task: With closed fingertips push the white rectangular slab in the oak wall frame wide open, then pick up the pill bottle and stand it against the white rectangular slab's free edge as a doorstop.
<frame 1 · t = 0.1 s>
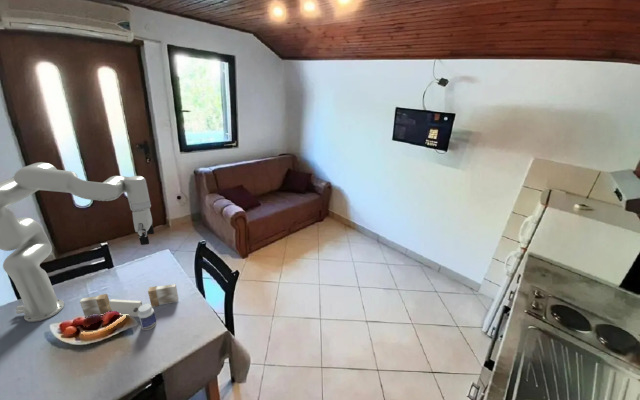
hand: (147, 238, 121), 31 cm above the table, fingers open, 9 cm apart
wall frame: (133, 307, 122), on the table
white rectangular slab: (126, 309, 116), point 4 cm above the table, hinge at 20.0°
pill bottle: (149, 325, 114), on the table
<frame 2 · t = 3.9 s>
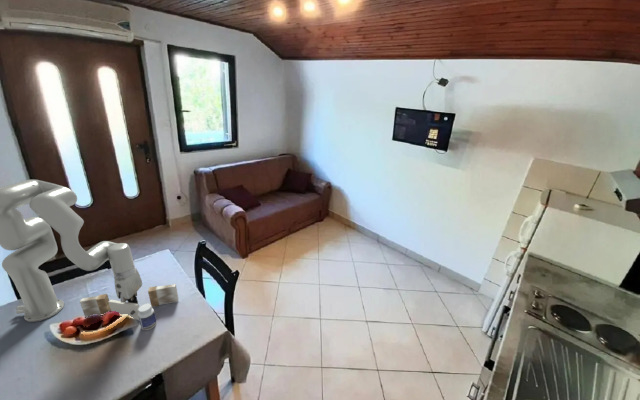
hand: (133, 304, 119), 4 cm above the table, fingers closed
white rectangular slab: (124, 310, 115), point 4 cm above the table, hinge at 27.1°, touching gripper
everything else where it was.
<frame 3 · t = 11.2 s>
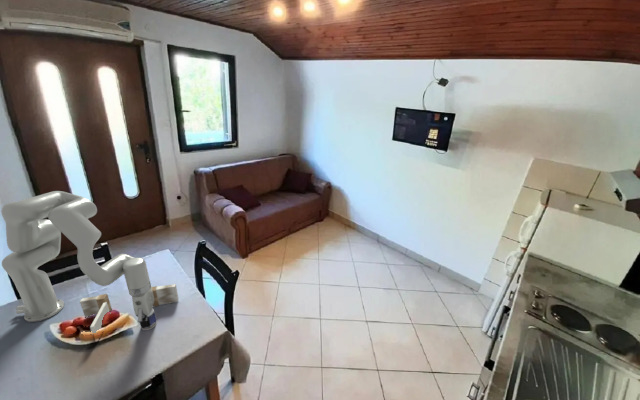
hand: (148, 320, 113), 3 cm above the table, fingers closed on pill bottle, 5 cm apart
white rectangular slab: (99, 321, 109), point 4 cm above the table, hinge at 89.2°
pill bottle: (149, 325, 114), on the table, touching gripper
when the fingers open (4 cm above the table, at t = 16.7 s): pill bottle drops 1 cm, on the table.
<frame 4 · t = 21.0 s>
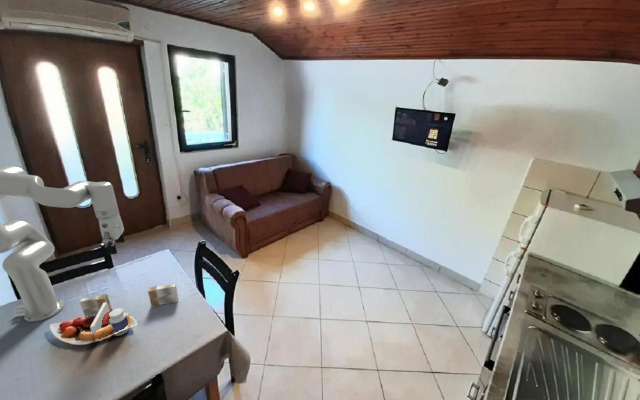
hand: (116, 247, 114), 30 cm above the table, fingers open, 9 cm apart
pill bottle: (121, 330, 111), on the table
everything else where it was.
at the end: white rectangular slab at +89° (first picture: +20°); pill bottle inside the target area (0.7 cm from its centre), on the table; pill bottle tilted 0° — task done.
